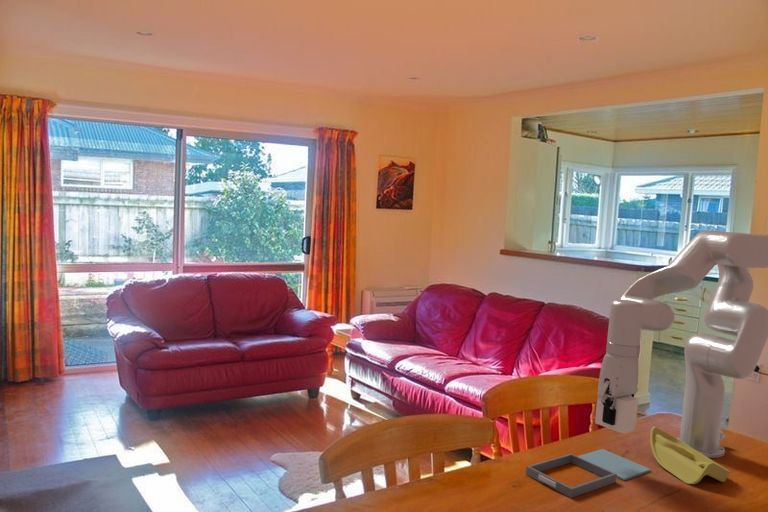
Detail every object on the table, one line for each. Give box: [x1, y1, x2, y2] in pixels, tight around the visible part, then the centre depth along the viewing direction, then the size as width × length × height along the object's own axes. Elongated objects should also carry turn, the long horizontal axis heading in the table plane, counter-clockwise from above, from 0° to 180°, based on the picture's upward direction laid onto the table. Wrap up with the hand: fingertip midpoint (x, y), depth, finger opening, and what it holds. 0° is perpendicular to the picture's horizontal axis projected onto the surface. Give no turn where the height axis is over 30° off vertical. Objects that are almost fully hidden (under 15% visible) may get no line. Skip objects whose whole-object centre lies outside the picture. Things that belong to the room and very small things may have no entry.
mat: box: [577, 448, 652, 481], centre depth 157 cm, size 11×14×1 cm
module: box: [594, 391, 639, 435], centre depth 155 cm, size 5×8×8 cm, turn 35°
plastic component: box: [649, 426, 731, 485], centre depth 157 cm, size 20×7×10 cm
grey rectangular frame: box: [525, 453, 617, 499], centre depth 147 cm, size 17×13×2 cm
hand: (615, 421), depth 156 cm, fingers closed on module, 5 cm apart
